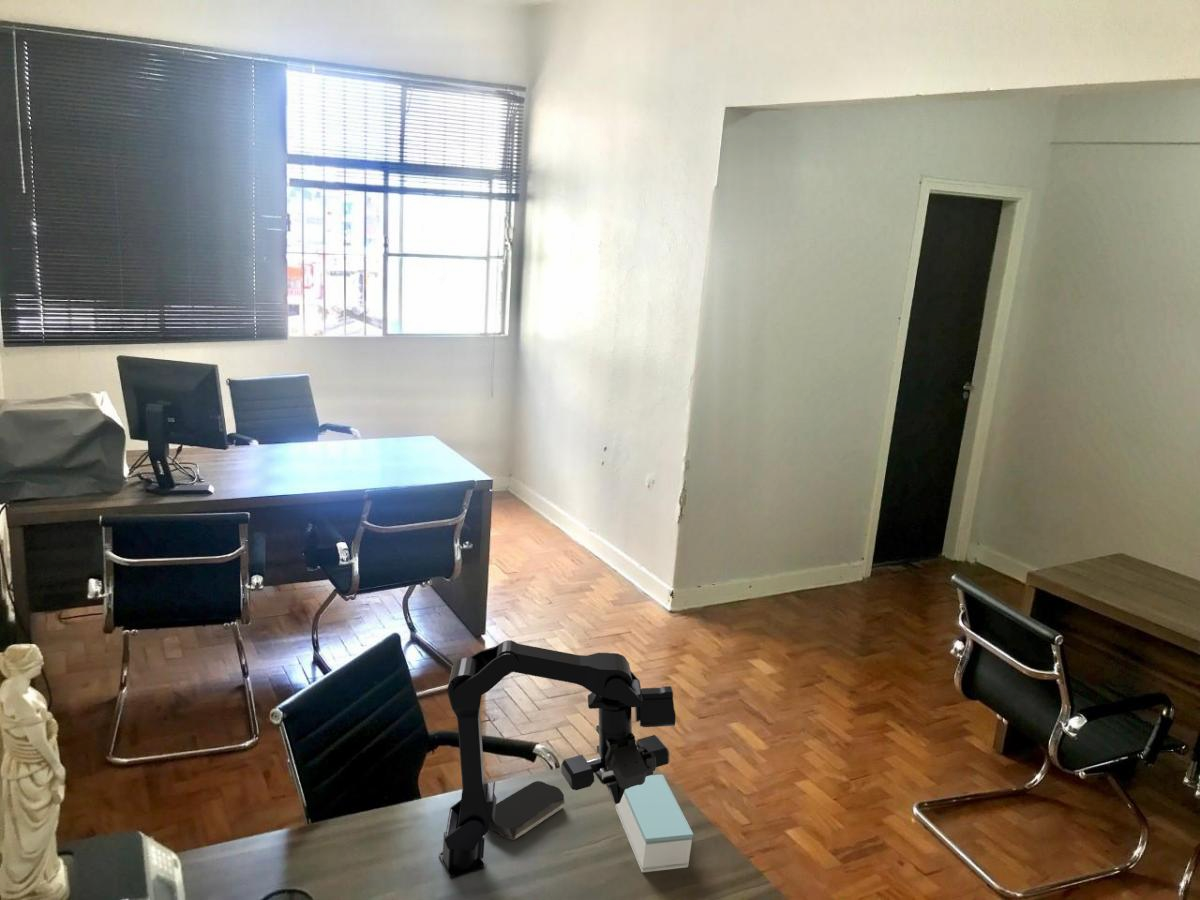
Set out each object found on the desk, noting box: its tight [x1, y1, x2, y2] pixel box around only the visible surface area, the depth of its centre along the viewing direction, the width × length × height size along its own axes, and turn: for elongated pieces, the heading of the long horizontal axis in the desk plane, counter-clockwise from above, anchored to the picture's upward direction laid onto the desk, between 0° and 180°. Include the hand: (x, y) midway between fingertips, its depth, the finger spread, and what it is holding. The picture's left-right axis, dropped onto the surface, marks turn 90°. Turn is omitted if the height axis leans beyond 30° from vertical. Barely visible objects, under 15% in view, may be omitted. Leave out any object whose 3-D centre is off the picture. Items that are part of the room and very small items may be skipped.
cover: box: [624, 774, 694, 843], centre depth 171 cm, size 9×18×1 cm, turn 15°
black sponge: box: [490, 780, 565, 840], centre depth 174 cm, size 16×8×4 cm, turn 140°
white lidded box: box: [615, 794, 693, 873], centre depth 172 cm, size 9×18×6 cm, turn 15°
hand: (616, 802), depth 159 cm, fingers closed
